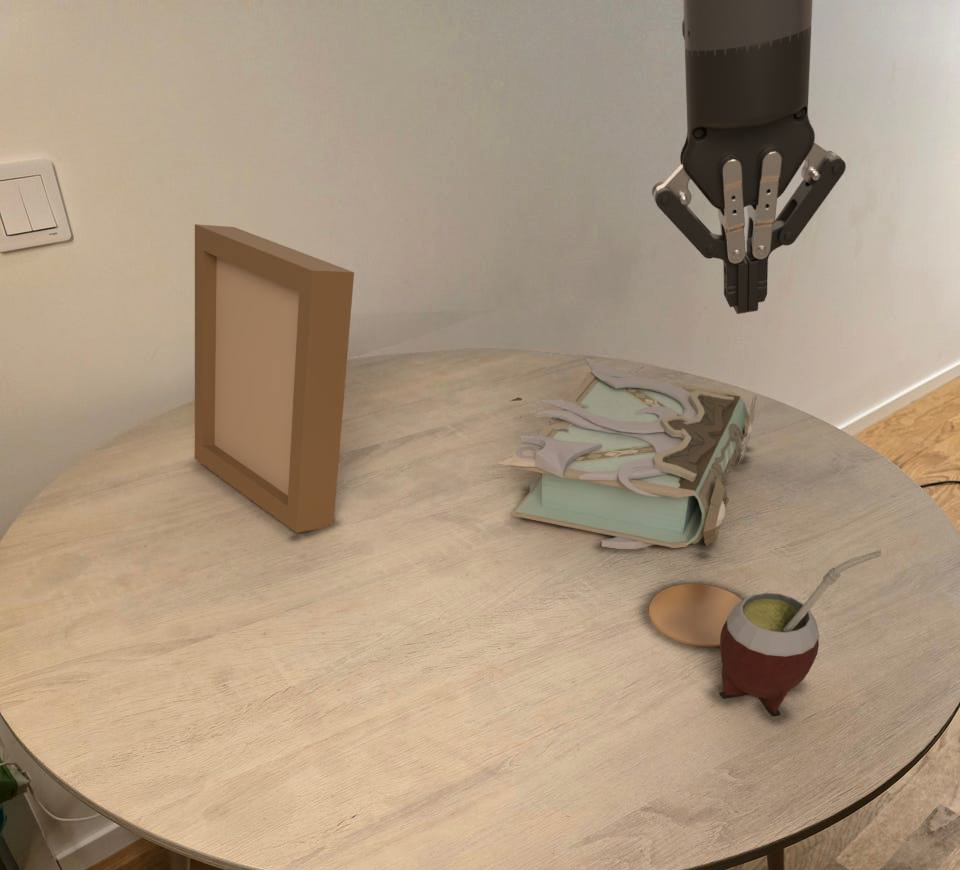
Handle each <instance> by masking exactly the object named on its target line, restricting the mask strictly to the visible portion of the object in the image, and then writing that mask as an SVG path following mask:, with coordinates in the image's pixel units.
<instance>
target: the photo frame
mask: <svg viewBox="0 0 960 870" xmlns="http://www.w3.org/2000/svg"><path fill="white" fill-rule="evenodd" d="M354 278H355V272H354V271H353V270H349V269H347V268H344V267H342V266H339V265H336V264H333V263H331V262H328V261H326V260H322V259H320V258H317V257H315V256H312V255H309V254H307V253H304V252H302V251H299V250H296V249H293V248H291V247H288V246H286V245H283V244H280V243H278V242H275V241H273V240H269V239H267V238H264V237H261V236H259V235H256V234H254V233H251V232H248V231H246V230H243V229H241V228H238V227H235V226H226V225H224V226H223V225H212V224H210V225H209V224H199V223H198V224H197V223H195V224H194V459H195V460H196V461H197V462H199V463H200V464H201V465H203V466H204V467H205V468H207V469H208V470H209V471H211V472H212V473H213V474H215V475H216V476H218V477H219V478H220V479H222V480H223V481H224V482H226V483H227V484H229V485H230V486H232V487H233V488H234V489H235V490H237V491H238V492H240V493H241V494H242V495H244V496H245V497H246V498H248V499H249V500H250V501H252V502H253V503H254V504H256V505H258V506H259V507H260V508H261V509H263V510H264V511H266V512H267V513H268V514H270V515H271V516H273V517H274V518H275V519H277V520H278V521H279V522H281V523H282V524H283V525H284V526H286V527H287V528H289V529H290V530H291V531H293V532H295V534H299V533H303V532H310V531H316V530H320V529H322V528H325V527H327V526H329V525H332V524H334V523H335V511H336V499H337V498H336V497H337V485H338V473H339V463H340V462H339V461H340V449H341V437H342V425H343V411H344V401H345V387H346V378H347V376H346V375H347V364H348V353H349V341H350V328H351V318H352V317H351V316H352V304H353V291H354V280H355V279H354Z"/></svg>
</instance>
